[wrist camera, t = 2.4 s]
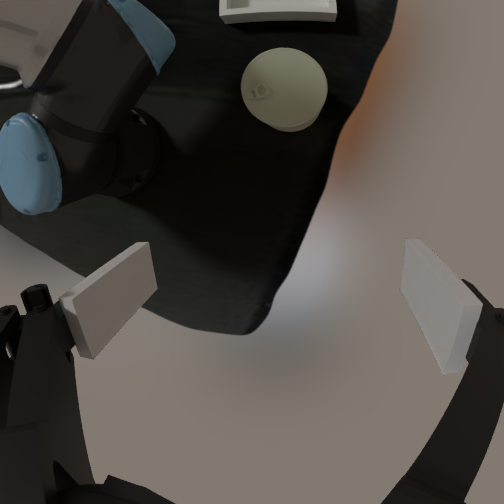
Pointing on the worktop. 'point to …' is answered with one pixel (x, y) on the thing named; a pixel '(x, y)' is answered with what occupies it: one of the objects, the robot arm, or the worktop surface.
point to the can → (284, 89)
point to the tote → (277, 10)
